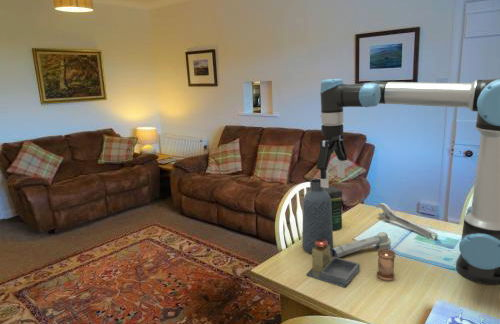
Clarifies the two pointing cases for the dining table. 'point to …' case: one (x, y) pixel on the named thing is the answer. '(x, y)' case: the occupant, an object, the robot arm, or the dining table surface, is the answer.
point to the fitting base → (331, 266)
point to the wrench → (404, 221)
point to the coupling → (386, 264)
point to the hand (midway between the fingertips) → (333, 182)
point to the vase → (316, 216)
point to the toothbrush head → (362, 245)
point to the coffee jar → (335, 206)
